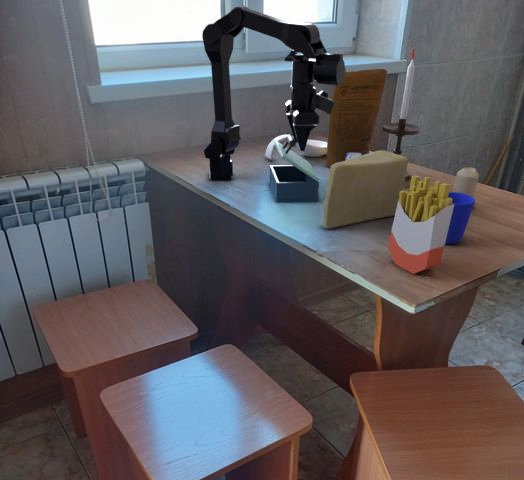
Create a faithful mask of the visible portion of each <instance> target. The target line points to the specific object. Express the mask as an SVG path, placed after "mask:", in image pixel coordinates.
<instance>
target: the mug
mask: <svg viewBox="0 0 524 480" xmlns="http://www.w3.org/2000/svg"><path fill="white" fill-rule="evenodd" d="M448 198H452V199H453V200H452V203H453V204H454V208H453V212H452V216H451V220H450V224H449V229H448V233H447V237H446V241H445V245H455V244H458V243H459V242H461V241H462V239H463V238H464V235H465V232H466V229H467V227H468V223H469V221H470V218H471V214H472V211H473V209H474V206H475V203H476V199H475V198H474V197H471V196H469V195H466V194H463V193H457V192H453V191H449V195H448Z"/></svg>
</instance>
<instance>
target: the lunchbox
mask: <svg viewBox="0 0 524 480" xmlns="http://www.w3.org/2000/svg"><path fill="white" fill-rule="evenodd" d="M268 181H269V182H268V183H269V186H270V189H271V192H272V194H273V197H274V199H275V203H296V202H297V203H301V202H303V203H305V202H318V199H319V187H320V181H319V182H318V181H316V180H315V179H313V178H312V177H310V176H309V175H307V174H306V173H304V172H303V171H301V170H300V169H298V168H297V167H295V166H294V165H292V164H280V165H279V164H278V165H277V164H276V165H275V164H274V165H269V180H268Z"/></svg>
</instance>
